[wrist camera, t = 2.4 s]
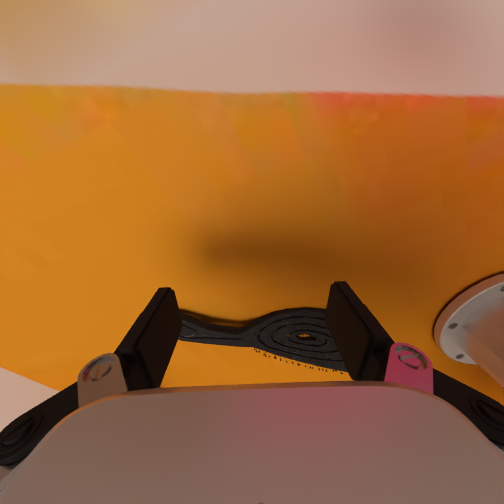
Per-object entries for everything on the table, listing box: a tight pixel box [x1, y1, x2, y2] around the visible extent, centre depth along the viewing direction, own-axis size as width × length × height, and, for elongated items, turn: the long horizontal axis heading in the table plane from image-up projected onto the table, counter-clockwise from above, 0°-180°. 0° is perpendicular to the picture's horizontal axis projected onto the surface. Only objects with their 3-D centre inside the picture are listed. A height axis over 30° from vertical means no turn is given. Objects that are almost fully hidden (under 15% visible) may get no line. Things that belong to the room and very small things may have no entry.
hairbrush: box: [178, 307, 348, 374], centre depth 21 cm, size 8×4×25 cm
